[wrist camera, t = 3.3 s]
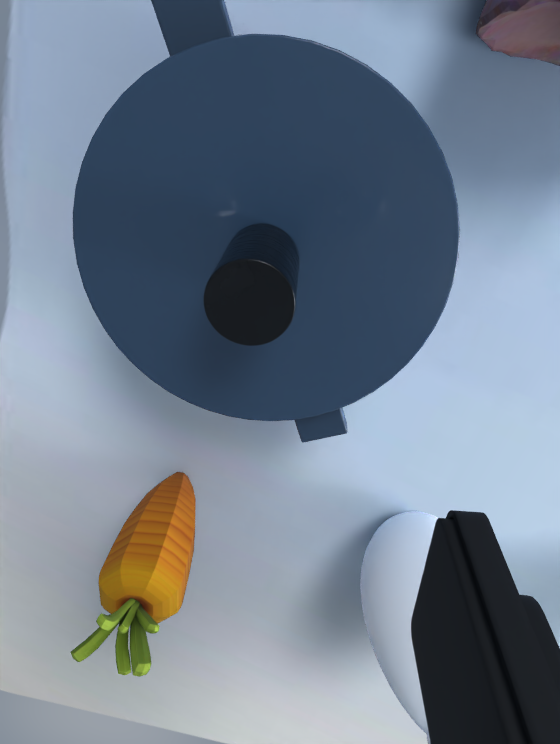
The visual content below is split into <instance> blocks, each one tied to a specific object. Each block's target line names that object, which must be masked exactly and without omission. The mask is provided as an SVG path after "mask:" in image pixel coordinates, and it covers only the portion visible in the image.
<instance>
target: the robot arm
mask: <svg viewBox="0 0 560 744" xmlns="http://www.w3.org/2000/svg"><path fill="white" fill-rule="evenodd" d="M411 637H412V644H413V649H414V655H415V660H416V666H417V671H418V677H419V682H420V688H421V693H422V699H423V704H424V709H425V715H426V720H427V726H428V731H429V737H430V742H431V744H560V648H559V646H558V644H557V641H556V639H555V637H554V635H553V632H552V630H551V628H550V626H549V623H548V621H547V619H546V616H545V614H544V612H543V610H542V608H541V607H540V605H539V603H538V602H537V601H536V600H535V599H534V598H533V597H531V596H528V595H519V593H518V590H517V588H516V585H515V583H514V581H513V578H512V576H511V573H510V571H509V568H508V566H507V563H506V561H505V559H504V556H503V554H502V551H501V549H500V546H499V544H498V541H497V539H496V536H495V534H494V532H493V529H492V527H491V524H490V522H489V519H488V518H487V516H486V515H485V514H484V513H481V512H466V511H449V512H448V514H447V517H446V519H444V518H438V519H437V521H436V523H435V527H434V531H433V535H432V539H431V543H430V547H429V551H428V555H427V559H426V563H425V567H424V571H423V575H422V579H421V583H420V587H419V591H418V595H417V599H416V603H415V607H414V611H413V615H412V619H411Z"/></svg>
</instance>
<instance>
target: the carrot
mask: <svg viewBox="0 0 560 744" xmlns="http://www.w3.org/2000/svg"><path fill="white" fill-rule="evenodd" d="M194 537H195V495H194V490H193V487H192V484H191V482H190V480H189V478H188V476H187V475H185V474H184V473H181V472H176V473H175V474H173V475H171V476H169V477H168V478H166V479H165V480H164V481H162V482H161V483H159V484H158V485H157V486H156V487H154V488H153V489H152V490H151V491H150V492H148V493H147V494H146V496H145V497H144V498H143V499H142V501H141V502H140V503H139V504H138V506H137V507H136V508H135V509H134V511H133V512H132V514H131V515H130V516H129V518H128V519H127V521H126V522H125V524H124V525H123V527H122V529H121V531H120V533H119V535H118V537H117V539H116V540H115V542H114V544H113V546H112V548H111V550H110V552H109V554H108V557H107V559H106V561H105V563H104V565H103V567H102V569H101V572H100V575H99V591H100V600H101V605H102V606H103V608H104V609H105V610H107V611H108V612H109V613H111V614H110V615H105V614H102V613H101V614H100V615H99V617H98V619H97V621H96V622H97V624H98V625H99V626H100V627H99V628H98V629H97V630H96V631H95V632H94V633H93V634H92V635H90V636H89V637H88V638H87V639H86V640H85V641H84V642H82V643H81V644H80V645H79V646H77V647H76V648H75V649H74V650H72V651H71V654H72V657H73V659H75V660H76V661H77V662H81V661H82V660H84V659H85V658H87V657H88V656H90V655H91V654H92V653H93V652H94V651H95V650H97V649H98V648H99V646H100V645H101V644H102V643H103V642H104V640H105V639H106V638H107V637H108V636H109V635H110V633H111V632H112V631H113V630H114V629H115V627H116V626H117V625H118V624H119V627H118V632H117V638H116V645H115V648H116V663H117V669H118V674H122V675H127V674H129V673H131V665H132V671H133V675H134V676H139V677H140V676H143V675H146V674H147V673H148V671H149V670H150V666H151V657H150V651H149V646H148V642H147V636H146V631H147V632H149V633H157V632H158V631H159V625H158V623H160V622H161V621H163V620H165V619H167V618H169V617H170V616H172V615H174V614H176V613H177V612H178V611H179V609H180V608H181V605H182V602H183V598H184V594H185V590H186V586H187V581H188V577H189V572H190V567H191V562H192V557H193V551H194ZM129 627H130V655H131V665H130V656H129V650H128V632H129Z"/></svg>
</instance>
